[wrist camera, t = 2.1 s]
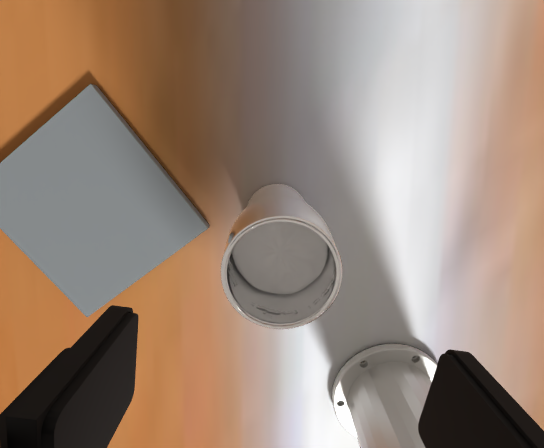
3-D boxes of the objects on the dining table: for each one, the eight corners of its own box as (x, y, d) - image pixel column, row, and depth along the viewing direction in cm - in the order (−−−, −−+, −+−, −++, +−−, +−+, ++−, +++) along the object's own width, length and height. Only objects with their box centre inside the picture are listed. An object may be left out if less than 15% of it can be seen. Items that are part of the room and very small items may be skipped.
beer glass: (264, 260, 33) (259, 353, 19) (227, 202, 32) (190, 253, 17) (324, 226, 32) (369, 296, 18) (290, 165, 31) (307, 186, 16)
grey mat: (209, 225, 32) (208, 228, 31) (92, 312, 34) (87, 317, 33) (96, 85, 29) (90, 83, 28) (-25, 191, 31) (-35, 193, 30)
